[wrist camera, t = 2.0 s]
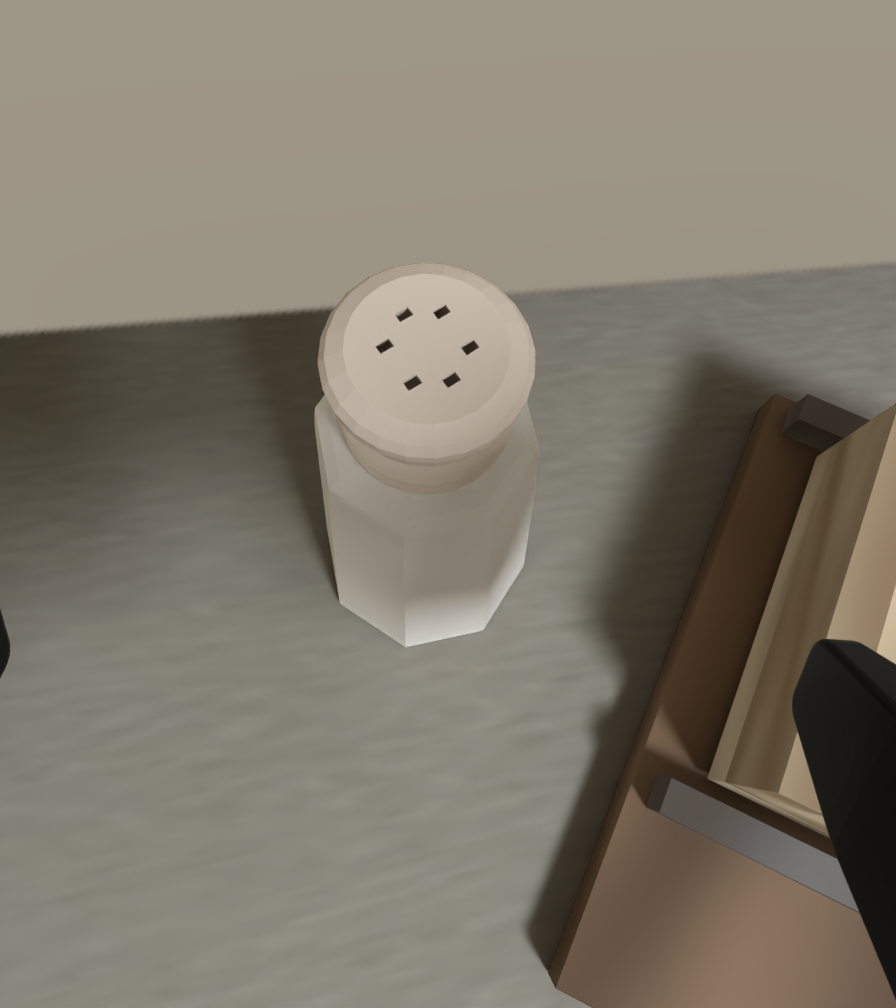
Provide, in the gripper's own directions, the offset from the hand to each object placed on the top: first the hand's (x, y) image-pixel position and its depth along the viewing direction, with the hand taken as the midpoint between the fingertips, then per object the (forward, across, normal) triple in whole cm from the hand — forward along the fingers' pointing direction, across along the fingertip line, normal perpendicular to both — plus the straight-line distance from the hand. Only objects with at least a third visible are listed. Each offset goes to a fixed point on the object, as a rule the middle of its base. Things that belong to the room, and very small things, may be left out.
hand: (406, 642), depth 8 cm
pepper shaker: (+10, 0, +5) cm, 12 cm away
